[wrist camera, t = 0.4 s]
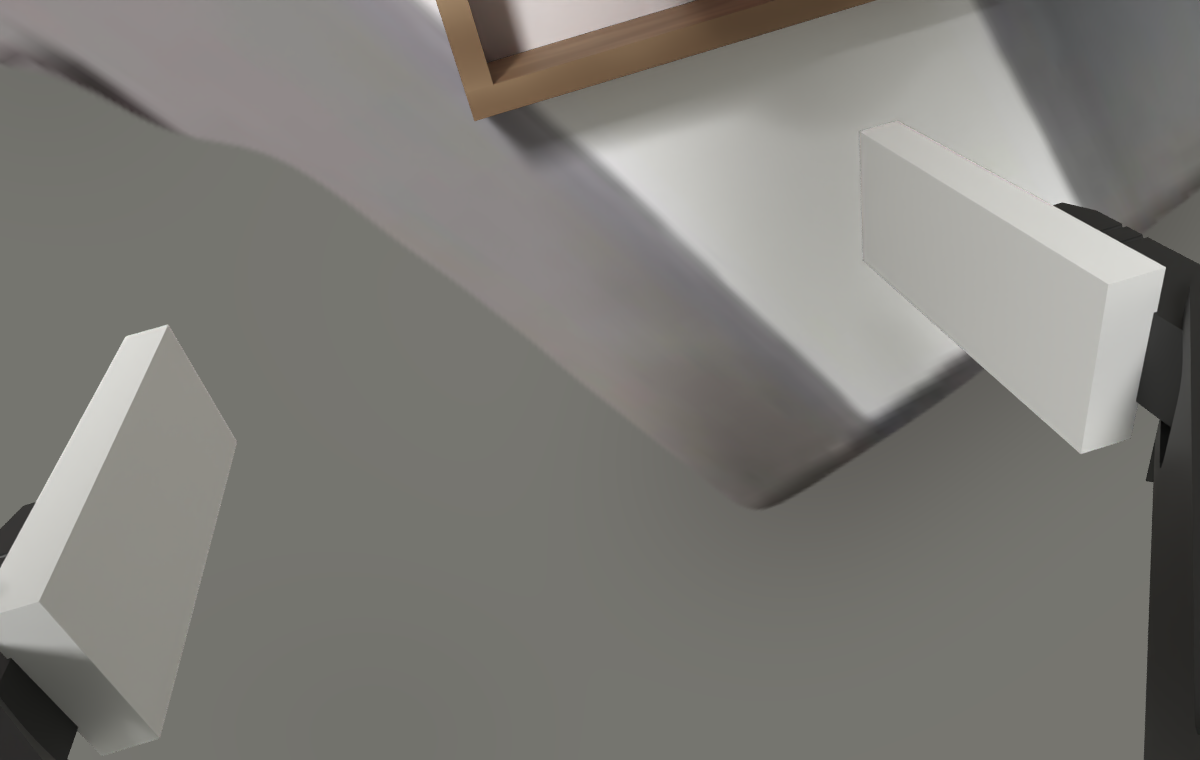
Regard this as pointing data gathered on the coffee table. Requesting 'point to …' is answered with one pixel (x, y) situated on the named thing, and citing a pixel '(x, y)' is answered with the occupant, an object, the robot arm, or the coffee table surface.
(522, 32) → the coffee table surface
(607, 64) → the frame
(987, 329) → the robot arm
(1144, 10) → the coffee table surface
